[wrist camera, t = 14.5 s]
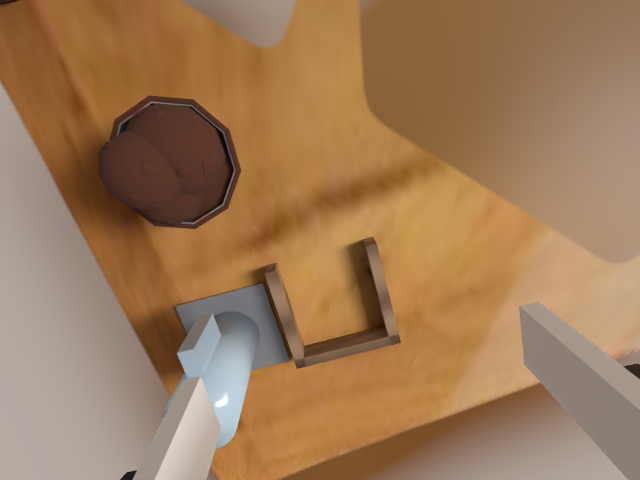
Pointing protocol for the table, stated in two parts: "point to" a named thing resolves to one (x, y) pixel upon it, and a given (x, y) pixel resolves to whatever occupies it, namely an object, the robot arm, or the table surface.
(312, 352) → the brown wooden u-shaped frame
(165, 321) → the table surface
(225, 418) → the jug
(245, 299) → the coaster
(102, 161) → the ice cream bowl
